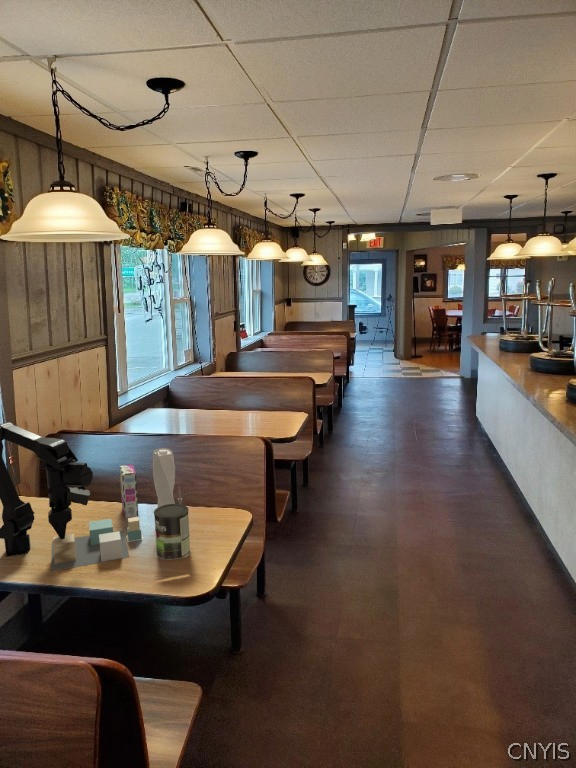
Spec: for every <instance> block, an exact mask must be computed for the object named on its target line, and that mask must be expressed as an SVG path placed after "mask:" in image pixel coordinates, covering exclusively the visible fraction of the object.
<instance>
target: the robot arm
mask: <svg viewBox="0 0 576 768" xmlns="http://www.w3.org/2000/svg"><path fill="white" fill-rule="evenodd" d="M4 440H5V441H7V442H9V443H11V444H15V445H16V446H19V447H22V448H24V449H27V450H29V451H31V452H33V453H34V454H35V456H36V457H37V458H38V459H39V460H41V461H43V463H42V464H40V466H39V469H40V470H45V471H46V480H47V482H46V483H47V494H48V500H49V501H48V507H49V508H50V510H49V511H48V515H47V518H48V524H49V525H50V526H51V527H52V528H53V530H54V531H55V532H56V534H57V536H59V537H60V539H61V540H62V539H65V535H66V531H67V525H68V523H69V522H71V521H72V520H73V514H72V508H71V507H70V506H71V505H72V503H74V504H79V505H82V506H87V505H88V503H89V500H90V495H91V491H90V490H89V489H86V487H89V486H90V485H91V483H92V481H93V477H94V474H93V473H94V472H93V471H92V468H91V467H89V466H88V463H87V462H78V460H79V459H78V458H77V456H76V454H75V453H74V452H73V450H72V449H71V448H70V447H69V445H68V443H67V441H65V440H64V439H60V438H55V437H43V436H41V435H38V434H36V433H33V432H31V431H29V430H26V429H24V428H22V427H19V426H16V425H15V424H13V423H12V422H9V421H8V422H3V423H0V502H1V505H2V512H1V519H2V523H3V524H2V526H1V527H0V540H1V539H2V540H4V546H5V547H4V548H5V558H7V557H14V556H18V555H20V556H21V555H26V554H29V551H31V548H32V547H31V546H32V545H31V538H30V534H29V533H28V531H29V530H31V529H32V527H33V524H34V521H35V511H34V510H33V509H32V505H31V503H30V502H29V501H27V502H24V501H23V500H21V498H20V496H19V493H18V491H17V489H16V486H15V485H14V482H13V480H12V477H11V475H10V472H9V469H8V468H7V465H6V463H5V461H4V460H5V459H4V458H3V451H4V444H3V441H4ZM61 460H62V461H61ZM59 461H60V462H59ZM71 486H74V487H71Z"/></svg>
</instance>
